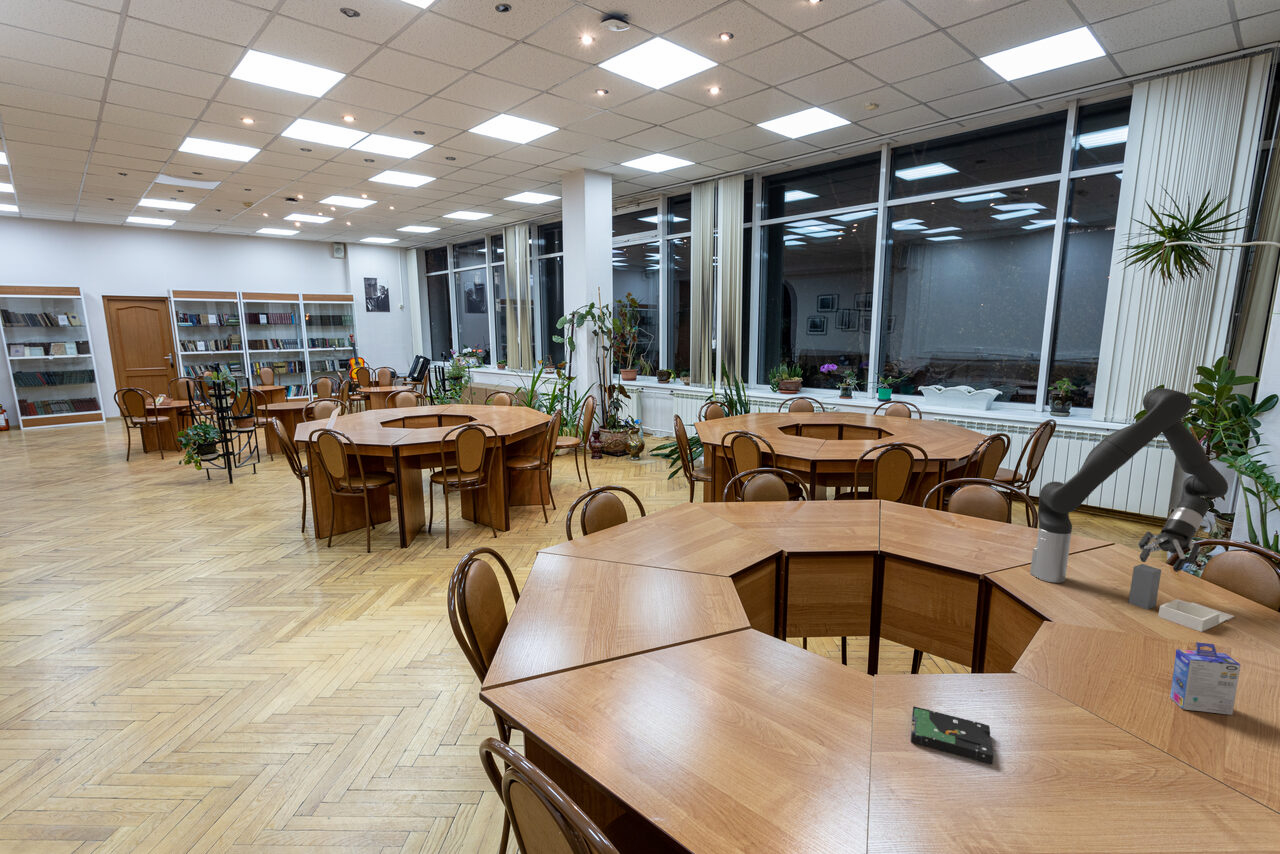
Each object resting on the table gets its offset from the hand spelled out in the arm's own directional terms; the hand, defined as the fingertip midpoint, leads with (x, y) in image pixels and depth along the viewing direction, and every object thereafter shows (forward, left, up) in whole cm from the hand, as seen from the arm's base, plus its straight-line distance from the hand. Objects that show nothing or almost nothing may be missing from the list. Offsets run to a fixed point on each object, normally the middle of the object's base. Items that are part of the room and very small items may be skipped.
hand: (1158, 565), depth 190 cm
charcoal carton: (0, -7, -12) cm, 13 cm away
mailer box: (+12, -2, -12) cm, 16 cm away
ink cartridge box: (+33, -56, -12) cm, 66 cm away
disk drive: (+15, -117, -12) cm, 119 cm away
